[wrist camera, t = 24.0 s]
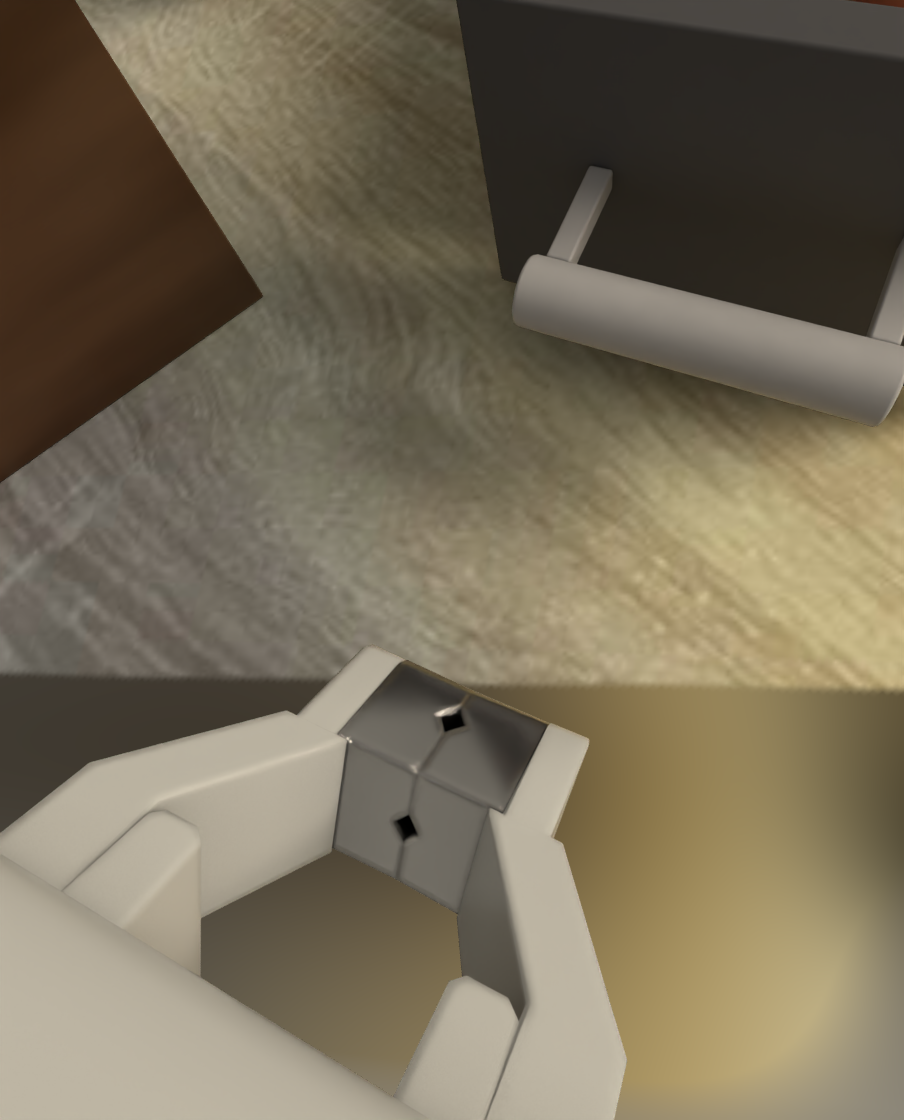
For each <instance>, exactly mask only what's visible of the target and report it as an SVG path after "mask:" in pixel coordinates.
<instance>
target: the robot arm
mask: <svg viewBox="0 0 904 1120" xmlns="http://www.w3.org/2000/svg"><path fill="white" fill-rule="evenodd" d="M588 746H589V739H588V738H586V737H584V736H581V735H579V734H576V733H574V732H571V731H569V730H567V729H564V728H562V727H559V726H557V725H555V724H551V723H548V722H545V721H543V720H541V719H538V718H536V717H534V716H531V715H529V714H527V713H524V712H522V711H519V710H517V709H515V708H513V707H510V706H508V705H506V704H503V703H501V702H499V701H496V700H494V699H492V698H489V697H487V696H484V695H482V694H480V693H478V692H475V691H473V690H471V689H469V688H467V687H465V686H462V685H460V684H458V683H456V682H454V681H452V680H449V679H447V678H445V677H443V676H441V675H439V674H437V673H434V672H432V671H430V670H428V669H426V668H424V667H421V666H419V665H417V664H415V663H413V662H411V661H409V660H404V659H402V658H400V657H398V656H396V655H394V654H392V653H390V652H387V651H385V650H383V649H381V648H379V647H377V646H374V645H370V646H367V647H365V648H363V649H361V650H360V651H359V652H358V653H357V654H356V655H355V656H354V657H353V658H352V659H351V660H350V662H349V663H348V664H347V665H346V666H345V667H344V668H343V669H342V670H341V671H340V672H339V673H338V674H337V675H336V676H335V677H334V678H333V679H332V680H331V681H330V682H329V683H328V684H327V685H326V686H325V687H324V688H323V689H322V690H321V691H320V692H319V693H318V694H317V695H316V696H315V697H314V698H313V699H312V700H311V701H310V702H309V703H308V704H307V705H306V706H305V707H304V708H303V709H302V710H301V711H300V712H299V713H298V714H297V715H295V714H293V713H290V712H288V711H282V712H279V713H275V714H271V715H267V716H264V717H260V718H256V719H252V720H249V721H245V722H241V723H237V724H234V725H230V726H226V727H222V728H219V729H215V730H211V731H207V732H204V733H200V734H196V735H192V736H188V737H184V738H181V739H177V740H174V741H169V742H166V743H162V744H158V745H154V746H150V747H147V748H143V749H139V750H135V751H132V752H128V753H124V754H120V755H116V756H113V757H109V758H105V759H101V760H98V761H94V762H90V763H88V764H87V765H86V766H85V767H83V768H82V769H81V770H80V771H78V772H77V773H76V774H74V775H73V776H72V777H71V778H69V779H68V780H67V781H66V782H64V783H63V784H62V785H61V786H59V787H58V788H57V789H55V790H54V791H53V792H52V793H50V794H49V795H48V796H47V797H45V798H44V799H43V800H41V801H40V802H39V803H38V804H36V805H35V806H34V807H33V808H32V809H30V810H29V811H27V812H26V813H25V814H24V815H22V817H20V818H19V819H17V820H16V821H15V822H14V823H12V824H11V825H10V826H8V827H7V828H6V829H5V830H3V831H2V832H1V833H0V1120H614V1117H615V1113H616V1108H617V1104H618V1099H619V1094H620V1090H621V1086H622V1081H623V1076H624V1072H625V1067H626V1063H627V1058H626V1055H625V1052H624V1048H623V1045H622V1041H621V1038H620V1035H619V1031H618V1028H617V1025H616V1021H615V1018H614V1014H613V1011H612V1008H611V1004H610V1001H609V998H608V994H607V991H606V987H605V984H604V981H603V978H602V974H601V971H600V967H599V964H598V961H597V957H596V954H595V950H594V947H593V944H592V940H591V937H590V934H589V930H588V927H587V924H586V920H585V917H584V913H583V910H582V907H581V903H580V900H579V897H578V893H577V890H576V886H575V883H574V880H573V876H572V873H571V869H570V866H569V863H568V859H567V856H566V853H565V849H564V846H563V843H561V842H559V841H557V840H555V839H554V836H555V833H556V831H557V828H558V825H559V823H560V820H561V817H562V815H563V812H564V809H565V807H566V804H567V801H568V799H569V796H570V793H571V791H572V788H573V785H574V783H575V780H576V777H577V775H578V772H579V770H580V767H581V764H582V761H583V759H584V756H585V753H586V751H587V748H588ZM332 848H334V849H336V850H338V851H340V852H342V853H344V854H346V855H348V856H350V857H352V858H354V859H356V860H358V861H360V862H362V863H364V864H366V865H368V866H370V867H372V868H374V869H376V870H378V871H380V872H382V873H385V874H387V875H388V876H390V877H393V878H395V879H396V880H398V881H400V882H402V883H403V884H405V885H407V886H409V887H411V888H412V889H414V890H416V891H418V892H419V893H421V894H423V895H425V896H427V897H428V898H430V899H432V900H434V901H435V902H437V903H439V904H441V905H442V906H444V907H446V908H448V909H450V910H451V911H453V912H455V913H457V914H458V916H457V925H458V936H459V947H460V959H461V970H462V977H461V978H457V979H455V980H452V981H449V983H448V985H447V987H446V989H445V991H444V993H443V995H442V997H441V999H440V1001H439V1003H438V1005H437V1007H436V1009H435V1011H434V1013H433V1016H432V1018H431V1020H430V1022H429V1024H428V1026H427V1028H426V1030H425V1032H424V1034H423V1036H422V1038H421V1040H420V1042H419V1044H418V1046H417V1048H416V1050H415V1053H414V1055H413V1057H412V1059H411V1061H410V1063H409V1065H408V1067H407V1069H406V1071H405V1073H404V1075H403V1077H402V1079H401V1081H400V1083H399V1085H398V1088H397V1090H396V1092H395V1094H394V1096H392V1095H390V1094H388V1093H387V1092H385V1091H384V1090H382V1089H380V1088H379V1087H377V1086H375V1085H374V1084H372V1083H371V1082H369V1081H367V1080H366V1079H364V1078H363V1077H361V1076H359V1075H358V1074H356V1073H355V1072H353V1071H351V1070H350V1069H348V1068H346V1067H345V1066H343V1065H342V1064H340V1063H338V1062H337V1061H335V1060H334V1059H332V1058H330V1057H329V1056H327V1055H325V1054H324V1053H322V1052H321V1051H319V1050H317V1049H316V1048H314V1047H313V1046H311V1045H309V1044H308V1043H306V1042H305V1041H303V1040H301V1039H300V1038H298V1037H296V1036H295V1035H293V1034H291V1033H290V1032H288V1031H287V1030H285V1029H284V1028H282V1027H280V1026H279V1025H277V1024H275V1023H274V1022H272V1021H270V1020H269V1019H267V1018H265V1017H264V1016H262V1015H261V1014H259V1013H258V1012H256V1011H254V1010H253V1009H251V1008H249V1007H248V1006H246V1005H245V1004H243V1003H241V1002H240V1001H238V1000H236V999H235V998H233V997H232V996H230V995H228V994H227V993H225V992H223V991H222V990H220V989H218V988H217V987H215V986H214V985H212V984H211V983H209V982H207V981H206V980H204V979H202V978H201V918H202V917H204V916H206V915H208V914H210V913H212V912H214V911H216V910H218V909H220V908H222V907H224V906H226V905H227V904H230V903H232V902H234V901H236V900H238V899H240V898H242V897H244V896H246V895H248V894H250V893H252V892H254V891H255V890H257V889H259V888H261V887H263V886H265V885H267V884H269V883H271V882H273V881H275V880H277V879H279V878H281V877H283V876H285V875H287V874H289V873H291V872H293V871H294V870H297V869H299V868H301V867H303V866H305V865H307V864H309V863H311V862H313V861H315V860H317V859H319V858H320V857H323V856H325V855H327V854H328V853H330V852H331V850H332Z"/></svg>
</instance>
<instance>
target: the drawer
mask: <svg viewBox="0 0 904 1120" xmlns="http://www.w3.org/2000/svg"><path fill="white" fill-rule="evenodd" d="M456 1H457V7H458V13H459V19H460V26H461V32H462V38H463V44H464V50H465V56H466V62H467V68H468V74H469V81H470V87H471V93H472V99H473V105H474V111H475V117H476V123H477V129H478V135H479V142H480V148H481V154H482V160H483V166H484V172H485V178H486V184H487V190H488V196H489V203H490V209H491V215H492V221H493V227H494V233H495V239H496V245H497V251H498V258H499V264H500V270H501V276H502V279H503V280H506V281H510V282H514V283H517V284H516V288H515V292H514V297H513V304H512V318H513V321H514V323H515V324H516V325H517V326H519V327H522V328H526V329H529V330H533V331H536V332H540V333H543V334H547V335H550V336H554V337H557V338H561V339H564V340H568V341H572V342H575V343H579V344H582V345H586V346H589V347H593V348H596V349H600V350H603V351H607V352H610V353H614V354H617V355H621V356H625V357H628V358H632V359H635V360H639V361H642V362H646V363H649V364H653V365H656V366H660V367H663V368H667V369H671V370H674V371H678V372H681V373H685V374H688V375H692V376H695V377H699V378H702V379H706V380H709V381H713V382H716V383H720V384H724V385H727V386H731V387H734V388H738V389H741V390H745V391H748V392H752V393H755V394H759V395H762V396H766V397H769V398H773V399H777V400H780V401H784V402H787V403H791V404H794V405H798V406H801V407H805V408H808V409H812V410H815V411H819V412H823V413H826V414H830V415H833V416H837V417H840V418H844V419H847V420H851V421H854V422H858V423H861V424H865V425H868V426H872V427H873V426H878V425H879V424H880V423H881V422H882V421H883V420H884V419H885V418H886V416H887V415H888V413H889V412H890V410H891V408H892V407H893V405H894V403H895V401H896V399H897V397H898V395H899V393H900V391H901V389H902V386H904V8H901V7H894V6H886V5H879V4H871V3H863V2H856V1H848V0H456Z"/></svg>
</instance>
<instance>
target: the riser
mask: <svg viewBox="0 0 904 1120" xmlns="http://www.w3.org/2000/svg"><path fill="white" fill-rule="evenodd" d="M262 296H263V295H262V292H261V291H260V289H259V288H258V286H257V285H256V283H255V281H254V280H253V278H252V277H251V275H250V274H249V272H248V270H247V269H246V267H245V266H244V264H243V263H242V261H241V259H240V258H239V256H238V255H237V253H236V252H235V250H234V249H233V247H232V245H231V244H230V242H229V241H228V239H227V238H226V236H225V234H224V233H223V231H222V230H221V228H220V227H219V225H218V223H217V222H216V220H215V219H214V217H213V216H212V214H211V213H210V211H209V209H208V208H207V206H206V205H205V203H204V202H203V200H202V198H201V197H200V195H199V194H198V192H197V191H196V189H195V187H194V186H193V184H192V183H191V181H190V180H189V178H188V177H187V175H186V173H185V172H184V170H183V169H182V167H181V166H180V164H179V162H178V161H177V159H176V158H175V156H174V155H173V153H172V151H171V150H170V148H169V147H168V145H167V144H166V142H165V141H164V139H163V137H162V136H161V134H160V133H159V131H158V130H157V128H156V126H155V125H154V123H153V122H152V120H151V119H150V117H149V115H148V114H147V112H146V111H145V109H144V108H143V106H142V105H141V103H140V101H139V100H138V98H137V97H136V95H135V94H134V92H133V90H132V89H131V87H130V86H129V84H128V83H127V81H126V79H125V78H124V76H123V75H122V73H121V72H120V70H119V69H118V67H117V65H116V64H115V62H114V61H113V59H112V58H111V56H110V54H109V53H108V51H107V50H106V48H105V47H104V45H103V43H102V42H101V40H100V39H99V37H98V36H97V34H96V33H95V31H94V29H93V28H92V26H91V25H90V23H89V22H88V20H87V18H86V17H85V15H84V14H83V12H82V11H81V9H80V7H79V6H78V4H77V3H76V1H75V0H0V482H1V481H3V480H4V479H5V478H7V477H8V476H10V475H11V474H13V473H14V472H15V471H17V470H18V469H20V468H21V467H22V466H24V465H25V464H27V463H28V462H30V461H31V460H32V459H34V458H35V457H37V456H38V455H39V454H41V453H42V452H44V451H45V450H46V449H48V448H49V447H51V446H52V445H54V444H55V443H56V442H58V441H59V440H61V439H62V438H63V437H65V436H66V435H68V434H69V433H71V432H72V431H73V430H75V429H76V428H78V427H79V426H80V425H82V424H83V423H85V422H86V421H88V420H89V419H90V418H92V417H93V416H95V415H96V414H97V413H99V412H100V411H102V410H103V409H104V408H106V407H107V406H109V405H110V404H112V403H113V402H114V401H116V400H117V399H119V398H120V397H121V396H123V395H124V394H126V393H127V392H129V391H130V390H131V389H133V388H134V387H136V386H137V385H138V384H140V383H141V382H143V381H144V380H146V379H147V378H148V377H150V376H151V375H153V374H154V373H155V372H157V371H158V370H160V369H161V368H162V367H164V366H165V365H167V364H168V363H170V362H171V361H172V360H174V359H175V358H177V357H178V356H179V355H181V354H182V353H184V352H185V351H187V350H188V349H189V348H191V347H192V346H194V345H195V344H196V343H198V342H199V341H201V340H202V339H204V338H205V337H206V336H208V335H209V334H211V333H212V332H213V331H215V330H216V329H218V328H219V327H220V326H222V325H223V324H225V323H226V322H228V321H229V320H230V319H232V318H233V317H235V316H236V315H237V314H239V313H240V312H242V311H243V310H245V309H246V308H247V307H249V306H250V305H252V304H253V303H254V302H256V301H257V300H259V299H260V298H262Z"/></svg>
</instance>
